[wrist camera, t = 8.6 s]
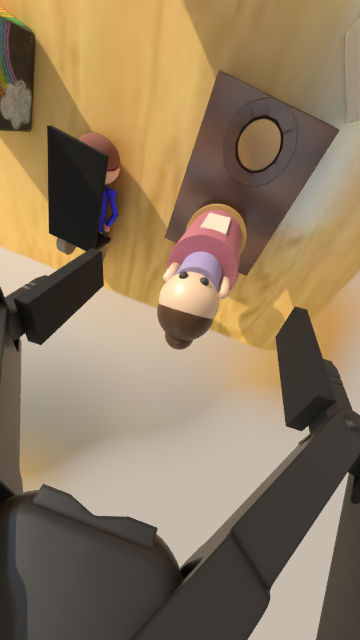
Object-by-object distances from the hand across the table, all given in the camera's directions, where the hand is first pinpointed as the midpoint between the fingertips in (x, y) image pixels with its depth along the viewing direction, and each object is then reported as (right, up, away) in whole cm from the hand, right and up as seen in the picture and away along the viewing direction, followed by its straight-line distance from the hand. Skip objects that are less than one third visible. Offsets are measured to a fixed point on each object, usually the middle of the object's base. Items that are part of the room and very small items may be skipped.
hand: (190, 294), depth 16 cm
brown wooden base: (+6, +13, +11) cm, 18 cm away
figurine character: (-11, +15, +16) cm, 24 cm away
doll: (+3, +8, +11) cm, 14 cm away
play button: (+7, +15, +6) cm, 17 cm away
